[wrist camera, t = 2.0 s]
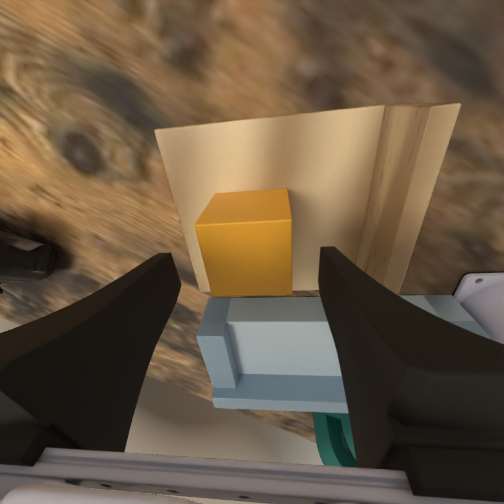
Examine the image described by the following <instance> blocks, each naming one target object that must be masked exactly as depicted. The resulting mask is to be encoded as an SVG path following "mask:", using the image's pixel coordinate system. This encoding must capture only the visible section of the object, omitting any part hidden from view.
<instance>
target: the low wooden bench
mask: <svg viewBox="0 0 504 504" xmlns="http://www.w3.org/2000/svg"><path fill="white" fill-rule="evenodd" d="M460 107H461V104H460V103H394V104H385V105H375V106H366V107H356V108H347V109H337V110H328V111H318V112H309V113H299V114H290V115H280V116H271V117H261V118H252V119H242V120H233V121H223V122H214V123H204V124H195V125H186V126H176V127H167V128H159V129H155V130H154V132H155V135H156V139H157V142H158V146H159V149H160V153H161V156H162V160H163V163H164V167H165V170H166V174H167V177H168V181H169V184H170V188H171V191H172V195H173V198H174V202H175V205H176V209H177V212H178V216H179V219H180V223H181V227H182V230H183V234H184V237H185V241H186V244H187V248H188V251H189V255H190V258H191V262H192V265H193V269H194V272H195V276H196V279H197V283H198V286H199V290H200V292H211V290H210V286H209V282H208V278H207V274H206V271H205V267H204V263H203V259H202V255H201V251H200V247H199V243H198V239H197V235H196V231H195V227H194V224H195V223H196V221H197V220H198V218H199V217H200V215H201V214H202V212H203V210H204V209H205V207H206V206H207V204H208V203H209V201H210V200H211V198H212V197H213V195H214V194H215V193H226V192H241V191H255V190H270V189H285V188H286V189H287V191H288V197H289V204H290V210H291V216H292V291H293V290H319V285H318V272H319V259H320V247H326V246H335V247H336V248H337V249H338V250H339V251H340V252H341V253H343V254H344V255H345V256H346V257H347V258H348V259H349V260H351V261H352V262H353V263H354V264H355V265H356V266H358V267H359V268H360V269H361V270H363V271H364V272H365V273H366V274H368V275H369V276H370V277H372V278H373V279H374V280H376V281H377V282H379V283H380V284H381V285H383V286H384V287H386V288H387V289H389V290H390V291H392V292H394V293H395V294H397V295H399V292H400V289H401V286H402V283H403V280H404V277H405V274H406V271H407V268H408V265H409V262H410V259H411V256H412V253H413V250H414V247H415V244H416V241H417V238H418V235H419V232H420V229H421V226H422V223H423V220H424V217H425V213H426V210H427V207H428V204H429V201H430V198H431V195H432V192H433V189H434V186H435V183H436V180H437V177H438V174H439V171H440V168H441V165H442V162H443V159H444V156H445V153H446V150H447V147H448V144H449V141H450V138H451V134H452V131H453V128H454V125H455V122H456V119H457V116H458V113H459V110H460Z"/></svg>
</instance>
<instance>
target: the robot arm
mask: <svg viewBox="0 0 504 504" xmlns="http://www.w3.org/2000/svg"><path fill="white" fill-rule="evenodd" d="M181 285H182V284H181V281H180V278H179V276H178V273H177V270H176V267H175V264H174V261H173V258H172V255H171V253H159V254H157V255H155V256H153V257H151V258H150V259H148V260H146V261H145V262H143V263H142V264H140V265H139V266H137V267H136V268H134V269H133V270H131V271H129V272H128V273H126V274H125V275H123V276H122V277H120V278H118V279H117V280H115V281H113V282H112V283H110V284H108V285H107V286H105V287H103V288H102V289H100V290H98V291H97V292H95V293H93V294H91V295H89V296H87V297H85V298H83V299H81V300H79V301H77V302H75V303H73V304H71V305H69V306H67V307H65V308H62V309H60V310H58V311H56V312H53V313H51V314H49V315H47V316H44V317H42V318H40V319H37V320H35V321H32V322H30V323H27V324H24V325H22V326H19V327H16V328H14V329H11V330H8V331H5V332H2V333H0V504H201V503H197V502H193V501H190V500H187V499H183V498H176V497H170V496H163V495H157V494H164V495H176V496H187V497H199V498H210V499H222V500H234V501H245V502H258V503H269V504H504V273H472V274H467V275H465V276H464V277H463V278H462V280H461V282H460V284H459V286H458V288H457V290H456V292H455V294H454V296H453V297H454V298H455V299H456V300H457V301H458V302H459V304H460V305H461V306H462V307H463V308H464V309H465V310H466V311H467V312H468V313H469V314H470V315H471V317H472V318H473V319H474V320H475V321H476V322H477V323H478V324H479V325H480V326H481V327H482V328H483V329H484V331H485V332H486V333H487V334H488V335H489V336H490V337H491V339H489V338H486V337H483V336H481V335H478V334H476V333H473V332H471V331H469V330H466V329H464V328H462V327H460V326H457V325H455V324H453V323H450V322H448V321H446V320H444V319H442V318H440V317H438V316H436V315H433V314H431V313H430V312H428V311H426V310H424V309H422V308H420V307H418V306H416V305H414V304H412V303H411V302H409V301H407V300H405V299H404V298H402V297H400V296H399V295H397V294H395V293H394V292H392V291H390V290H389V289H387V288H386V287H384V286H383V285H381V284H380V283H379V282H377V281H376V280H374V279H373V278H372V277H370V276H369V275H368V274H366V273H365V272H364V271H363V270H361V269H360V268H359V267H358V266H356V265H355V264H354V263H353V262H352V261H351V260H349V259H348V258H347V257H346V256H345V255H344V254H343V253H341V252H340V251H339V250H338V249H337V248H336V247H335V246H326V247H320V259H319V272H318V285H319V292H320V297H321V302H322V305H323V308H324V311H325V315H326V318H327V321H328V324H329V327H330V331H331V334H332V337H333V340H334V344H335V347H336V351H337V356H338V360H339V365H340V370H341V375H342V380H343V386H344V391H345V396H346V402H347V407H348V413H349V419H350V425H351V430H352V437H353V443H354V449H355V455H356V462H357V468H355V467H340V466H324V465H309V464H293V463H277V462H261V461H247V460H232V459H216V458H201V457H185V456H170V455H154V454H139V453H124V451H125V447H126V442H127V439H128V434H129V430H130V426H131V422H132V418H133V415H134V411H135V408H136V404H137V401H138V397H139V394H140V390H141V387H142V384H143V381H144V378H145V375H146V372H147V369H148V366H149V363H150V360H151V357H152V354H153V352H154V349H155V347H156V344H157V342H158V340H159V338H160V336H161V334H162V332H163V329H164V327H165V325H166V323H167V321H168V319H169V317H170V315H171V313H172V310H173V308H174V306H175V304H176V301H177V298H178V295H179V292H180V288H181ZM90 488H93V489H90ZM99 489H104V490H99ZM111 490H116V491H111ZM123 491H128V492H123ZM134 492H140V493H134ZM146 493H151V494H146Z"/></svg>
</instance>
